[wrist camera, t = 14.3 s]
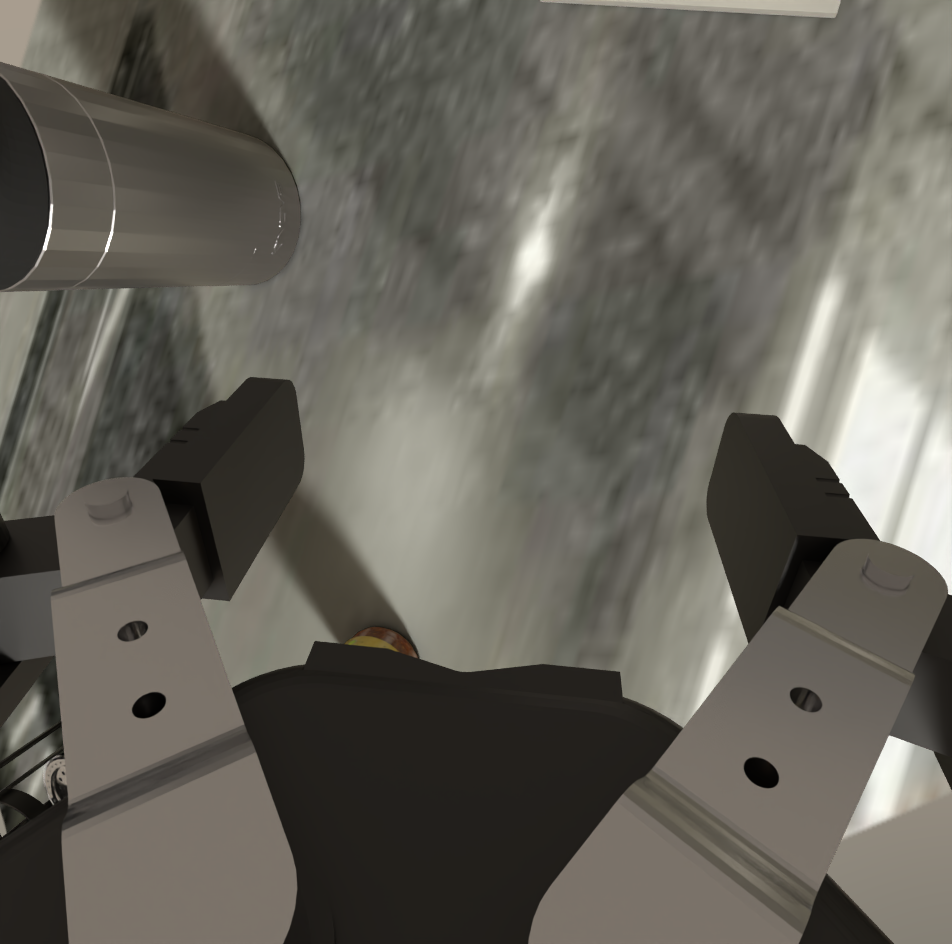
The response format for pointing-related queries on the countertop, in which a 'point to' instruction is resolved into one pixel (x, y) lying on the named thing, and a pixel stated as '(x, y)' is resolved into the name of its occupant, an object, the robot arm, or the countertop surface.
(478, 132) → the countertop surface
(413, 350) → the countertop surface
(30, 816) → the french press
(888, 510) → the countertop surface
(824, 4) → the mat
